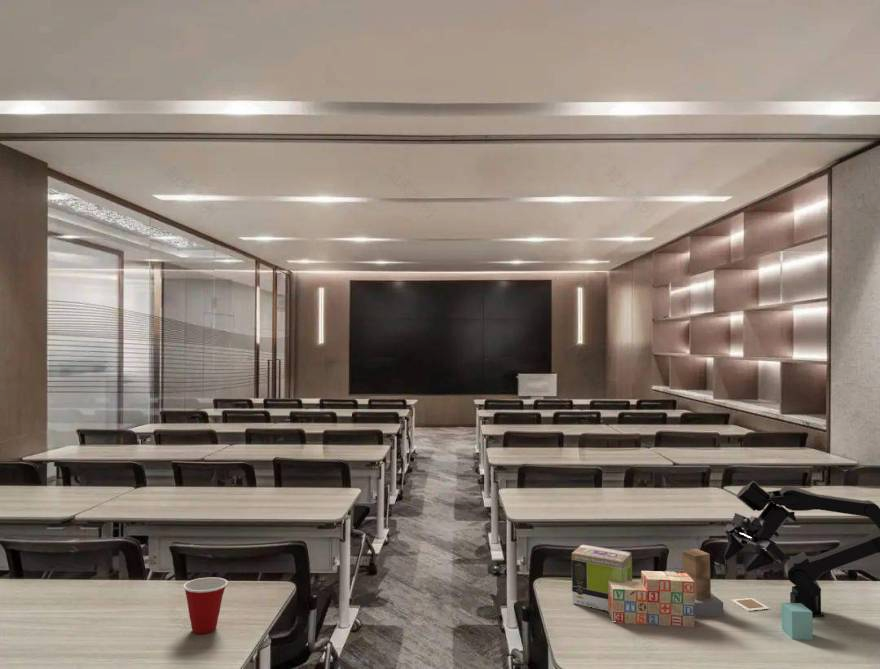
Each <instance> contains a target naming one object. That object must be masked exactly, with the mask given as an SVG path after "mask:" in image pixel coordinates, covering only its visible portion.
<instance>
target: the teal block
mask: <svg viewBox="0 0 880 669" xmlns="http://www.w3.org/2000/svg"><path fill="white" fill-rule="evenodd" d="M813 625H814V624H813V616H812V611H810V610H809V609H808V608H807V607H805V606H804V605H803V604H801V603H790V602H781V630H782V631H783V633H785V634H786V635H787V636H788V637H789V638H790V639H792V640H802V639H809V640H808V641H813V640H814V636H813V634H814V633H813V630H814V629H813V628H814V627H813Z"/></svg>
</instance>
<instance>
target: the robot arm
mask: <svg viewBox="0 0 880 669" xmlns="http://www.w3.org/2000/svg"><path fill="white" fill-rule="evenodd" d="M736 498H737V499H738V500H739V501H741V502H742V503H743V504H744V505H745V506H747V507H748V508H750V509H751V510H752V511H753V512H755V511H757V512H761V513H760V514H759V515H758V516H753V515H751V516H750V517H747V516H745V515H741V514H740V513H736V512H735V513H734V516H733V518H732V521H731V523H727V524H726V525H725V526H724V528H723V530H724V531H725V532H724V533H725V535H726V536H727V544H726V548H725V551H724V554H723V559H724V561H728V560H730V559H732V557H734V556H735V555H736V554H738V553H739V552H740V551H742V550H743V549H744V548H745V545H747V544H748V543H749V544H751V545H753V546H755V553H754V554H753V555H752V557H751V559H750V560H749V561H748V563H747V564H746V566H745V568H744V570H745V571H746V572H748V573H749V572H752V571H754V570H757V569H759V568H762V567H764V566H768V565H770V564H777V563H778V562H779V563H783V561H784V560H785V558H786V552H785V551H784V550H783V549H782V548H781V547H780V546H779V545H778V544H777V542H775V541H773V540H772V538H773V537H776V538H778V537H779V536H780V534H779V532H778V531H779V530H780V528H781V527H783V524H784V523H786V521H788V522H790V523H791V522H792V523H793V522H794V523H795V522H797V518H796V514H795V512H797V511H798V512H803V511H804V512H806V511H807V512H808V511H813V510H815V511H816V510H818V511H825V512H826V511H827V512H831V513H832V512H833V513H838V514H839V513H840V514H846V515H847V514H848V515H853V516H858V517H859V516H860V517H865V518H866V517H867V518H868V519H869V520H870V521H871V522H872V523H873V524H874V525H875V526H876V527H875V528H874V529H873V530H872V531H871V532H869V533H868V535H866V536H865V537H862V538H859V539H857V540H854V541H850V542H849V543H845V544H843V545H840V546H838V547H836V548H833V549H832V548H831V550H828V551H823V552H822V553H819V554H817V555H812V556H811V555H810V556H809V555H807V554H806V553H805V552H804V551H802V552H799V553H798V554H796V555H790V556H789V559H787V560H786V561H785V563H784V571H785V573H786V576H787V578H788V580H789V581H790V583H792V586H791V591H790V592H789V595H790V596H789V597H790V599H789V600H790V601H789V603H801V604H803V605H804V606H805V607H807V608H808V609H809V610H810V611H812V617H825V616H826V615H825V613H823V612H822V588H821V586H820V585H819V583H818V581H817V580H819V579H820V578H821V576H823V574H825V573H826V572H829V571H833V570H835V569H838V568H841V567H844V566H846V565H848V564H852V563H853V562H857V561H859V560H860V561H861V560H862V559H864V558H868V557H871V556H873V555H875V554H880V506H879V505H878V504H876V503H875V502H873V501H872V500H860V499H854V498H847V497H840V496H832V495H827V494H825V495H824V494H817V493H814V492H811V491H809V490H806V489H802V488H800V487H795V486H791V485H785V486H783V487H782V488H781V489H778V490H772V491H771V490H770V491H766V490H764V489H763V488H762V487H761V486H760V485H759V484H758V483H757V482H756V481H754V480H752V481H751V482H749V483H748V484H746V485H745V486H743V487H742V488H740V490H739V491H738V493H737V494H736Z"/></svg>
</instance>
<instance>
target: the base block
mask: <svg viewBox="0 0 880 669" xmlns="http://www.w3.org/2000/svg"><path fill="white" fill-rule="evenodd" d="M710 616H711V617H715V616H716V617H717V616H718V617H719V616H724V602H723V601H722V600H721V599H720V598H719V597H717V596H716V595H715V594H714V593H712V592H711V597H709V598H704V599H698V600H696V599H695V605H694V617H710Z"/></svg>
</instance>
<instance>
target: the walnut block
mask: <svg viewBox="0 0 880 669" xmlns="http://www.w3.org/2000/svg"><path fill="white" fill-rule="evenodd" d="M710 556H711V553H708V552H706V551H704V550H700V549H699V548H691V549H684V550H682V573H687V574H688V575H689V576H690V577H691V578H692V580H693V581H694V593H695V599H696V600H698V599H704V598H709V597H711V593H712V592H711V591H712V588H711V587H712V586H711V559H710V558H711V557H710Z"/></svg>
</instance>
